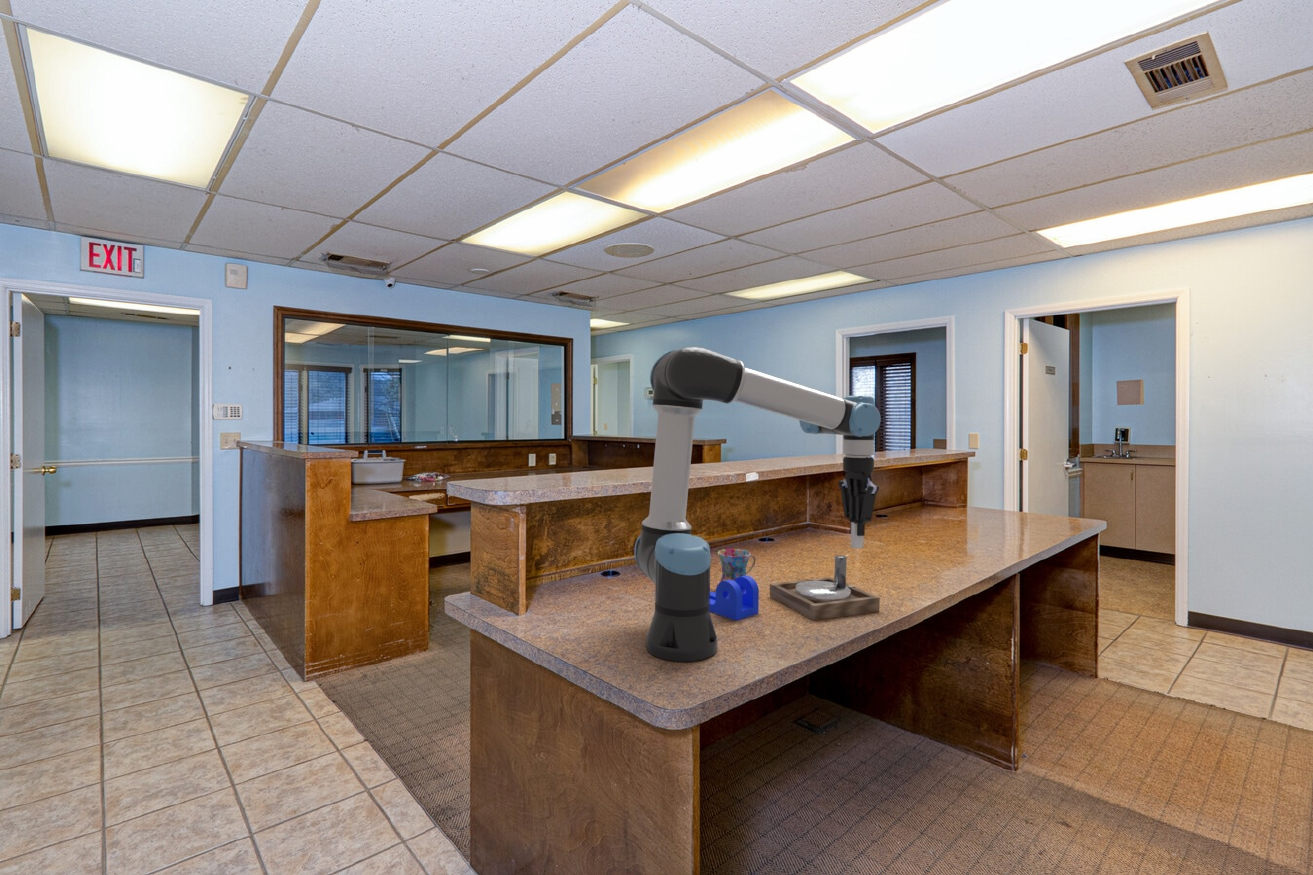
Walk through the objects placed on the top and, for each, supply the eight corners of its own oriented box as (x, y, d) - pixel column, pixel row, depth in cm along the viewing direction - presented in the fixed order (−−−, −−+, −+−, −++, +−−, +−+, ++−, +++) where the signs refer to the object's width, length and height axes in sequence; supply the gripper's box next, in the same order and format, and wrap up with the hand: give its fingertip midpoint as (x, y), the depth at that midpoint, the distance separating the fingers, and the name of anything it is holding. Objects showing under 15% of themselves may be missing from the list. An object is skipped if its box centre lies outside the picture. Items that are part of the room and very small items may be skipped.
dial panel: (813, 620, 148) (813, 605, 147) (769, 596, 166) (769, 582, 166) (879, 611, 155) (879, 596, 155) (830, 589, 173) (830, 576, 173)
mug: (729, 596, 166) (729, 557, 165) (710, 587, 174) (711, 550, 174) (764, 590, 172) (765, 553, 171) (745, 582, 180) (745, 546, 179)
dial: (816, 606, 151) (817, 566, 151) (785, 590, 164) (785, 554, 164) (862, 600, 156) (863, 562, 156) (828, 585, 169) (829, 550, 169)
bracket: (758, 613, 152) (759, 578, 152) (736, 621, 147) (736, 584, 147) (706, 596, 166) (707, 564, 166) (684, 603, 160) (685, 569, 160)
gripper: (888, 457, 150) (886, 551, 151) (853, 453, 162) (852, 541, 164) (863, 458, 148) (862, 554, 149) (830, 454, 160) (829, 543, 161)
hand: (857, 547), depth 156 cm, fingers closed
